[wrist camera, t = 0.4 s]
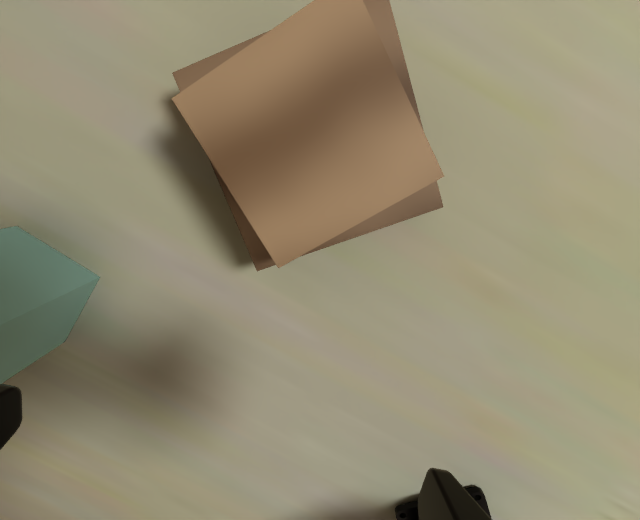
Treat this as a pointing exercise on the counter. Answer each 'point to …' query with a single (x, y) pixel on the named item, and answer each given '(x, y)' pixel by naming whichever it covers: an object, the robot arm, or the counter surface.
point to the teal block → (36, 299)
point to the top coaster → (311, 128)
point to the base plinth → (397, 212)
